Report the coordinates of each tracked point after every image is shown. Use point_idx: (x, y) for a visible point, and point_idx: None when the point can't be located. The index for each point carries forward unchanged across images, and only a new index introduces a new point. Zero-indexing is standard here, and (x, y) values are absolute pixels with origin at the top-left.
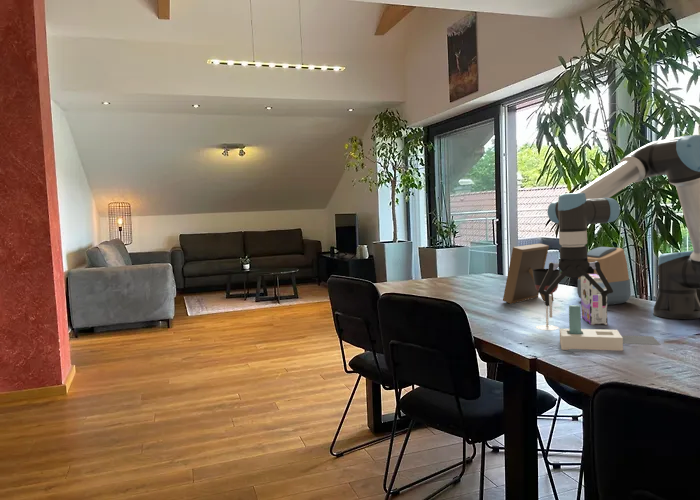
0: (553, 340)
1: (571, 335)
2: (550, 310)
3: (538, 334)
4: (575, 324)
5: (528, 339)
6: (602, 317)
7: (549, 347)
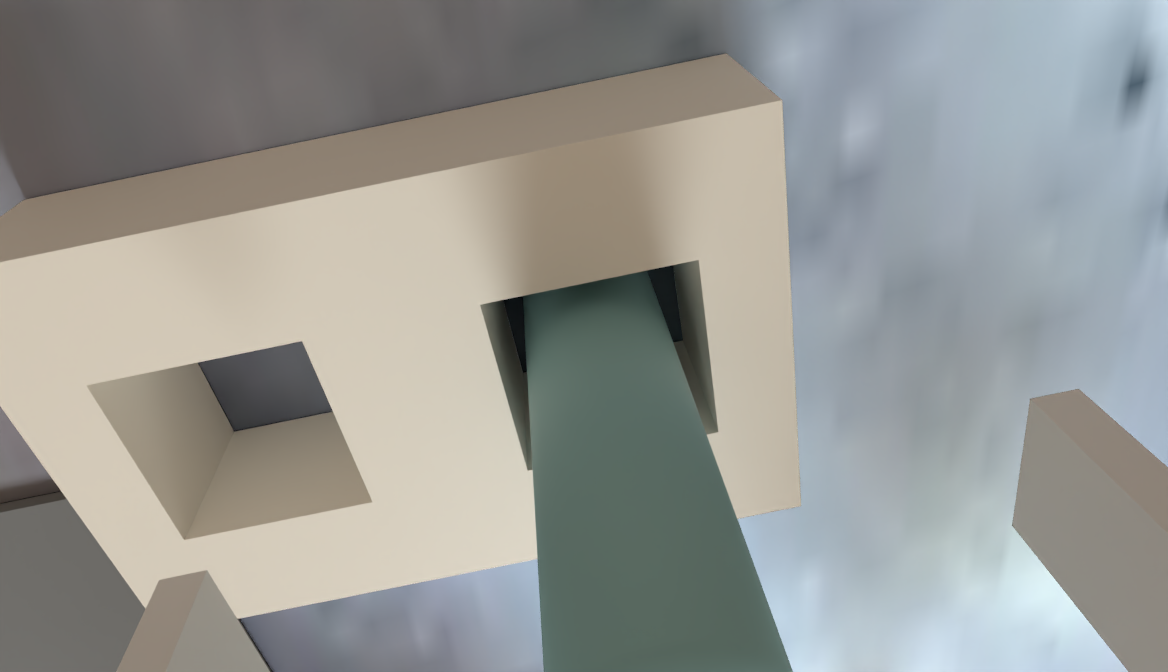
0: (817, 420)
1: (638, 188)
2: (1163, 486)
3: (945, 566)
4: (606, 385)
5: (1064, 379)
6: (158, 588)
7: (870, 118)
